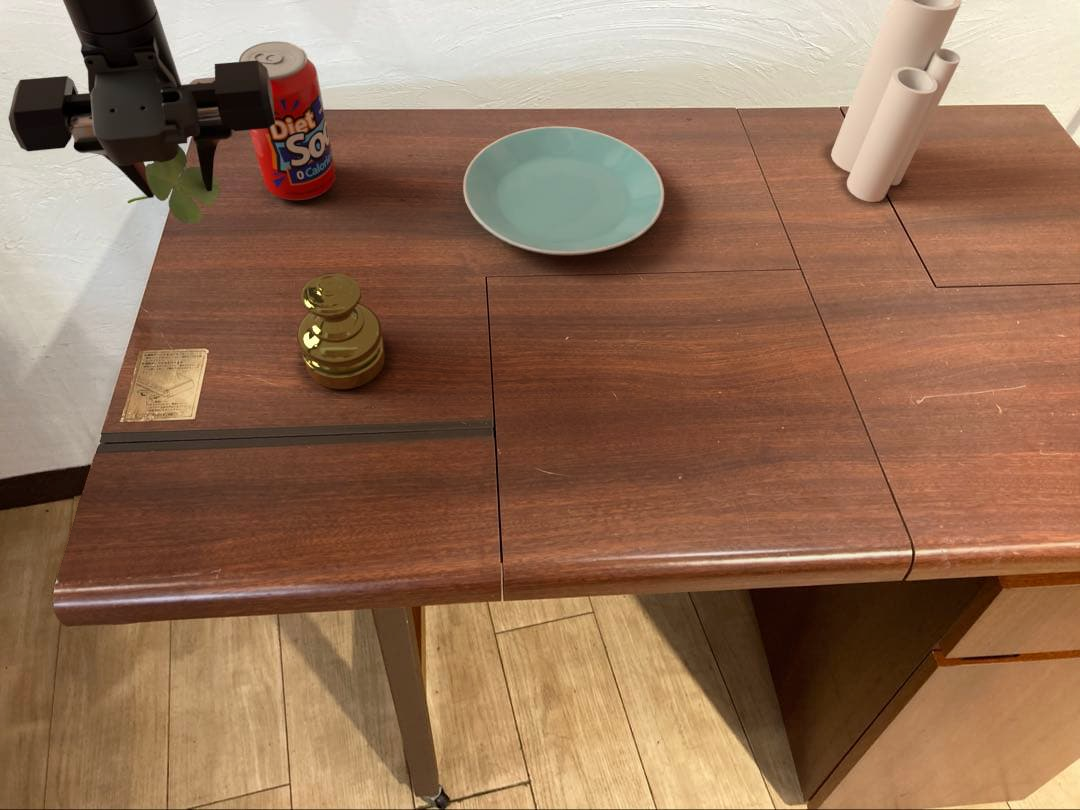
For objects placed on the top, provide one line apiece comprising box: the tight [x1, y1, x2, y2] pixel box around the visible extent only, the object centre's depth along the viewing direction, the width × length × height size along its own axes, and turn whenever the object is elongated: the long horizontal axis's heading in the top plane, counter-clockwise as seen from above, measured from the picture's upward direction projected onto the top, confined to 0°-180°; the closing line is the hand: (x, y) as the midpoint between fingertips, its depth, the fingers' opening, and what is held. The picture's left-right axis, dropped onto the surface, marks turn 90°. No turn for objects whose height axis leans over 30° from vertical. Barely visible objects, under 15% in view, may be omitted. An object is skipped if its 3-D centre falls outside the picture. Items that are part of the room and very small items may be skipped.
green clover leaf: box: [127, 144, 220, 224], centre depth 69 cm, size 7×8×7 cm
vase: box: [830, 0, 963, 203], centre depth 90 cm, size 11×7×20 cm, turn 8°
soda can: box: [238, 40, 336, 201], centre depth 85 cm, size 8×8×15 cm
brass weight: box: [296, 272, 386, 390], centre depth 72 cm, size 7×7×10 cm
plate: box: [462, 125, 665, 256], centre depth 90 cm, size 22×22×3 cm
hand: (180, 191), depth 70 cm, fingers closed on green clover leaf, 4 cm apart
